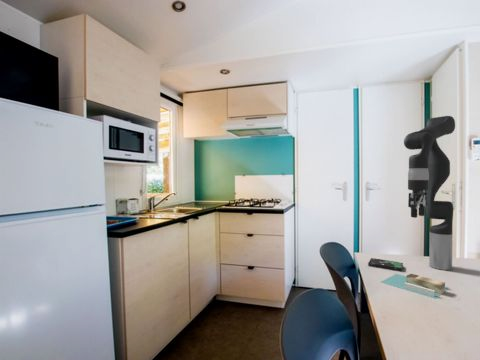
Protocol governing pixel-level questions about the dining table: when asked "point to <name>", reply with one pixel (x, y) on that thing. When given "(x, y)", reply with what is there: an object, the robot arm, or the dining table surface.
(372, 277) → the dining table surface
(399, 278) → the rubber mat
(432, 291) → the pair of grey bars
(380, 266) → the disk drive
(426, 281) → the tan rectangular block
